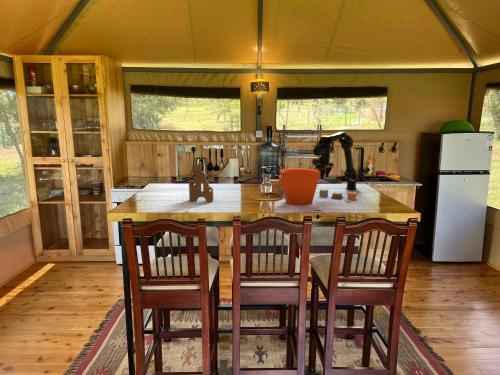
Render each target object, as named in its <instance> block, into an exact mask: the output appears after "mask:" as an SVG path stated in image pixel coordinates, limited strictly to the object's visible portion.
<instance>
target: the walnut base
mask: <svg viewBox="0 0 500 375" xmlns="http://www.w3.org/2000/svg"><path fill="white" fill-rule="evenodd" d="M343 198H344V196H343V193H342V192H335V191H334V192H333V193H331V197H330V199H335V200H342V199H343Z"/></svg>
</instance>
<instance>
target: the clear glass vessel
mask: <svg viewBox="0 0 500 375" xmlns="http://www.w3.org/2000/svg"><path fill="white" fill-rule="evenodd" d="M270 182H271V184H272V192H273V193H277V194H276V195H284V190H283V185H282V180H281V175H278V179H273V178H272V179H271V178H270Z"/></svg>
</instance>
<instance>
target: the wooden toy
mask: <svg viewBox="0 0 500 375" xmlns="http://www.w3.org/2000/svg"><path fill="white" fill-rule="evenodd" d="M191 172H194V174H195V175H194V178H195V181H194V180H193V179H191V180H189V181H188V192H189V193H188V197H189V201H190V203H197V202H198V200H199V198H203V199H205V201H206V203H213V202H214V189H213V187H212V186H211V185H210V182H209V181H208V180H207V174H206V172H205V171H204V170H202V161H199V162H198V163H197V164H196V165H195V166H194V167H193V168H192V169H191Z"/></svg>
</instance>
